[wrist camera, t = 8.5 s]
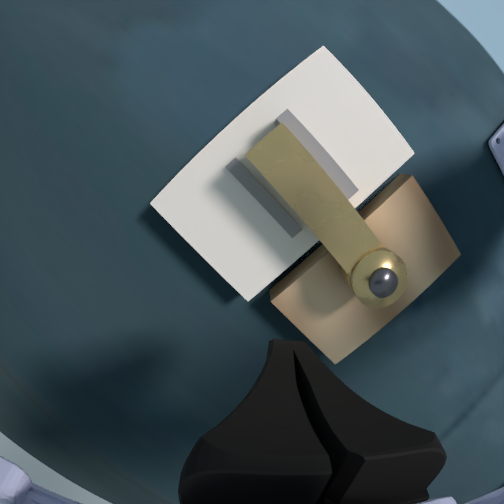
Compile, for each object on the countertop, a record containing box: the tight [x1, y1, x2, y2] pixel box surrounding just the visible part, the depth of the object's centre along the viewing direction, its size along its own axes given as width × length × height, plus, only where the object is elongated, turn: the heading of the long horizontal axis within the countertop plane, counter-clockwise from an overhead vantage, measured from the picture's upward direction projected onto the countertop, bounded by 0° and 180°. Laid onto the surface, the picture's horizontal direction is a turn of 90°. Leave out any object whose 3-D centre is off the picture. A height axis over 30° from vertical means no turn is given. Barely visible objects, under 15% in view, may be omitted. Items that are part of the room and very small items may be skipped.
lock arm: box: [245, 123, 408, 308], centre depth 17 cm, size 11×3×4 cm, turn 42°
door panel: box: [150, 46, 414, 301], centre depth 18 cm, size 14×8×4 cm, turn 133°
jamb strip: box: [269, 174, 461, 364], centre depth 21 cm, size 12×7×2 cm, turn 133°
